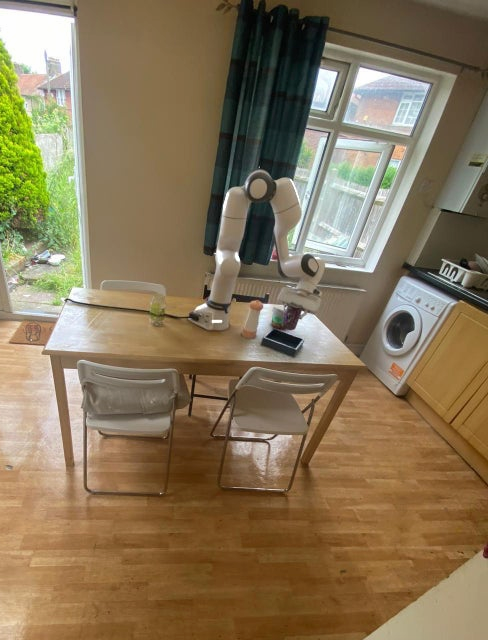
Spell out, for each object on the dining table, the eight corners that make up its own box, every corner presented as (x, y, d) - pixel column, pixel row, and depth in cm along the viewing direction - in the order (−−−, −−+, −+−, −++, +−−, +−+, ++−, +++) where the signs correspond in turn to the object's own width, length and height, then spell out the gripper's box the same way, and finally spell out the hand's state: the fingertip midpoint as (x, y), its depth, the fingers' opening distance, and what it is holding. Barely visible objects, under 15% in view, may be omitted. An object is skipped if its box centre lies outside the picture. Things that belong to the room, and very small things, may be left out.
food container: (265, 326, 187) (270, 309, 181) (268, 322, 192) (273, 306, 185) (286, 333, 183) (292, 316, 177) (289, 329, 188) (295, 312, 182)
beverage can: (277, 325, 165) (285, 302, 157) (288, 324, 168) (296, 301, 160) (286, 332, 160) (294, 308, 153) (297, 330, 163) (306, 307, 155)
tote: (260, 344, 169) (263, 337, 166) (270, 334, 179) (273, 327, 176) (293, 357, 163) (296, 349, 160) (302, 346, 173) (304, 339, 170)
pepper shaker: (246, 330, 180) (255, 296, 168) (257, 335, 177) (267, 301, 165) (239, 334, 175) (247, 299, 163) (250, 339, 172) (260, 304, 160)
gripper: (284, 281, 161) (271, 306, 160) (325, 294, 154) (312, 320, 153) (284, 287, 167) (271, 311, 166) (324, 300, 160) (311, 325, 159)
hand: (291, 315), depth 159 cm, fingers closed on beverage can, 7 cm apart
